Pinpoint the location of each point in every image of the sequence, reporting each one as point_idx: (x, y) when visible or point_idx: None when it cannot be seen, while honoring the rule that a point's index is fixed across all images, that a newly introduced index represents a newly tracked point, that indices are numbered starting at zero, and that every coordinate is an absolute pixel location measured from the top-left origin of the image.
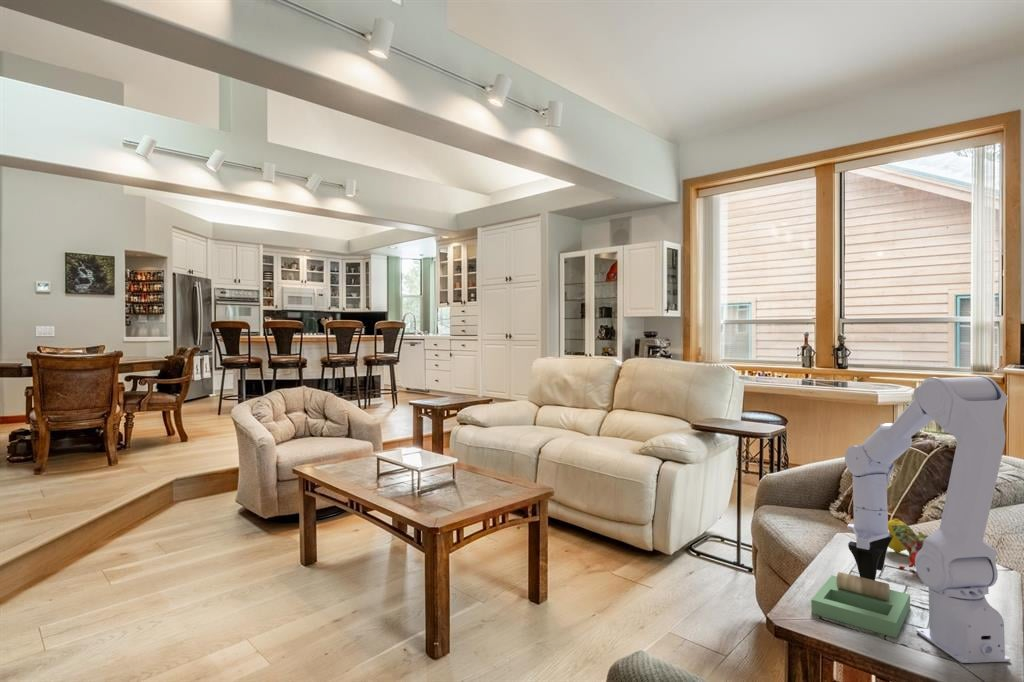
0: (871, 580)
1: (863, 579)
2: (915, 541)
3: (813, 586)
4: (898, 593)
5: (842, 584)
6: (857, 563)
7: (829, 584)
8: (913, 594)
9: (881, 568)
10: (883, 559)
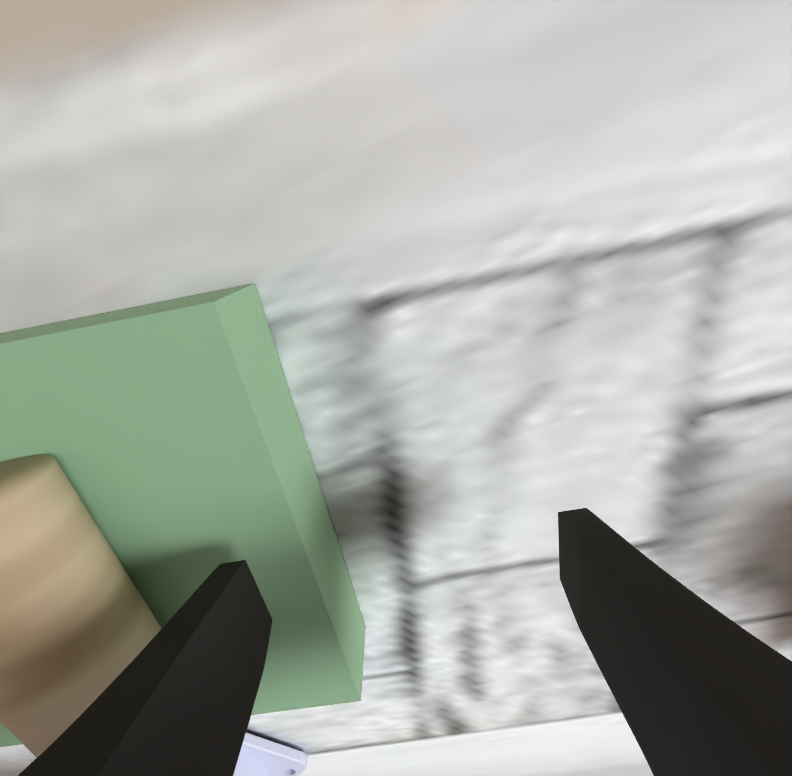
0: (41, 753)
1: (2, 715)
2: None
3: (139, 166)
4: (320, 672)
5: None
6: (67, 739)
7: (2, 383)
8: (547, 592)
9: (568, 596)
10: (620, 697)
